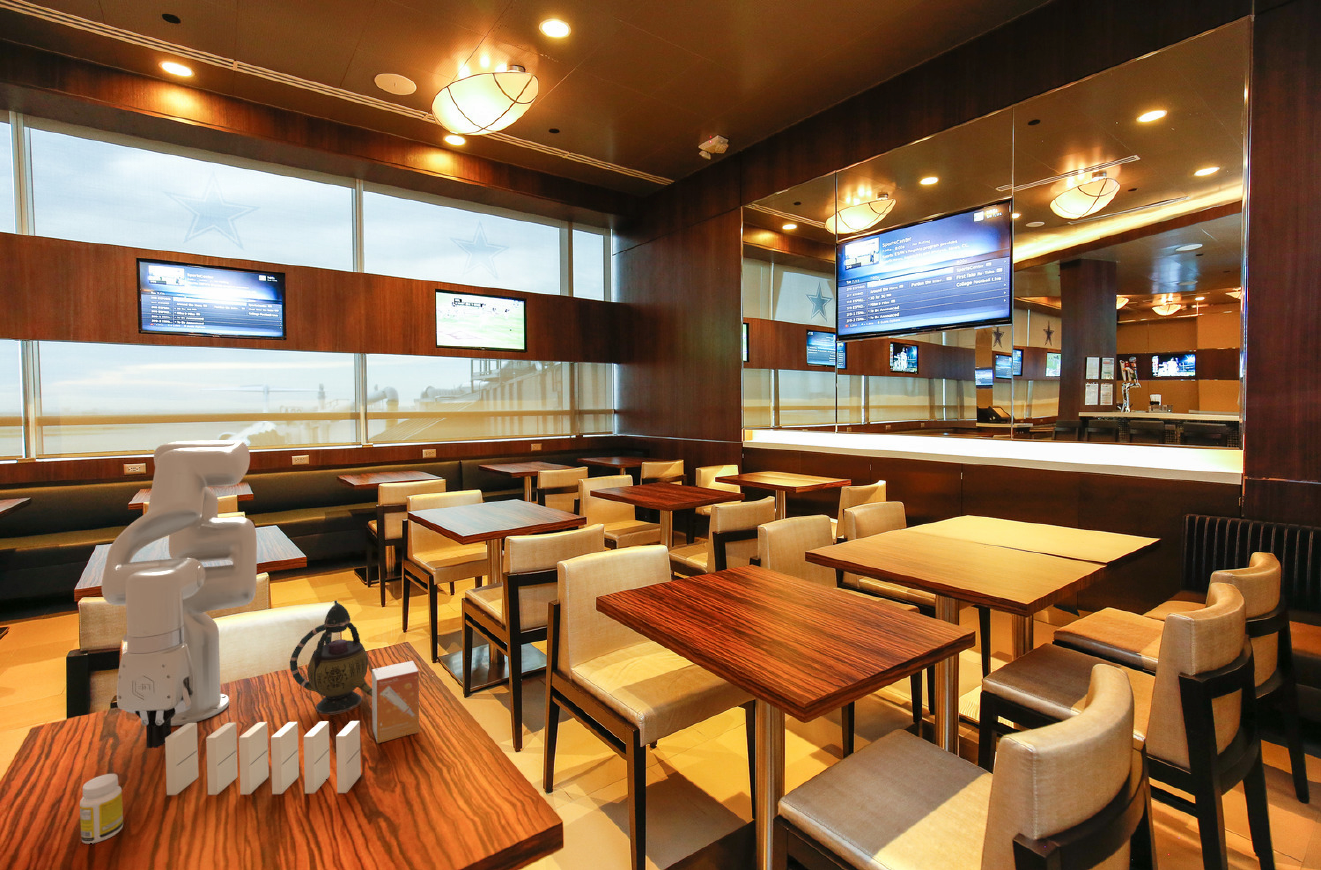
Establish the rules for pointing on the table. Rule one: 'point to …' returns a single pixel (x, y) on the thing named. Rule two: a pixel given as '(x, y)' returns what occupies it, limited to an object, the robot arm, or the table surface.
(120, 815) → the supplement bottle
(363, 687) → the teapot
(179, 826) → the table surface
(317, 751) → the domino
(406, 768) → the table surface
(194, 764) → the domino
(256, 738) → the domino
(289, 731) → the domino
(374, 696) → the small box
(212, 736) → the domino
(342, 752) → the domino
